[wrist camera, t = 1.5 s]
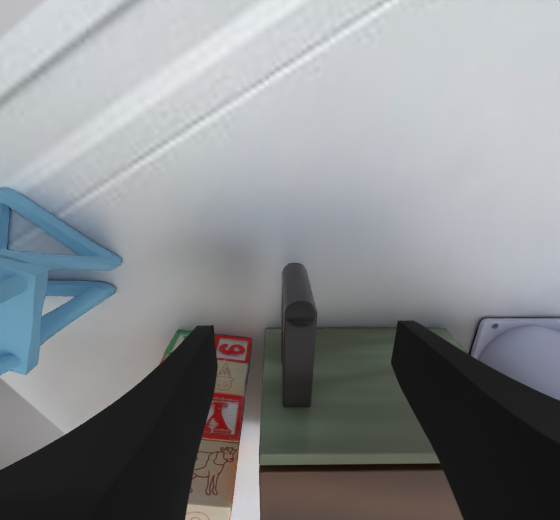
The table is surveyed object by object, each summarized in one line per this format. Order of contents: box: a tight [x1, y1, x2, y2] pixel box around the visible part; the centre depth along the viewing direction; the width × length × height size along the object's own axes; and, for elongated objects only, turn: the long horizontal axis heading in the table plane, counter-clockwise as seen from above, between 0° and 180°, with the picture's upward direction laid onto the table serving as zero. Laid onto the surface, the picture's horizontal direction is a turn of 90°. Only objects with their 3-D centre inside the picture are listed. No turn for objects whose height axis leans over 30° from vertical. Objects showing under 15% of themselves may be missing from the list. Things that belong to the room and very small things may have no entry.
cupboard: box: [259, 463, 463, 520], centre depth 21 cm, size 10×15×11 cm
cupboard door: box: [259, 263, 468, 465], centre depth 18 cm, size 8×15×10 cm, turn 89°
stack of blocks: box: [159, 330, 252, 520], centre depth 22 cm, size 21×6×12 cm, turn 171°
